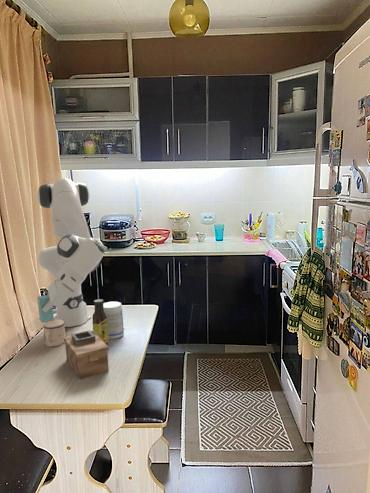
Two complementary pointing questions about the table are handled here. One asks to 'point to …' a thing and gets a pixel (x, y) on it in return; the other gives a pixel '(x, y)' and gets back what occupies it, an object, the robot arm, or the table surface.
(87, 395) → the table surface
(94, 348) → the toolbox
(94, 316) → the sauce bottle
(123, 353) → the table surface
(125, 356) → the table surface
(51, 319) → the teal rectangular block
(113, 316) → the supplement tub
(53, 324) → the teacup with lid
